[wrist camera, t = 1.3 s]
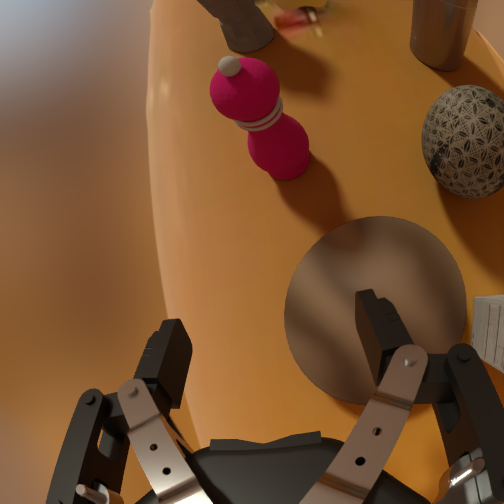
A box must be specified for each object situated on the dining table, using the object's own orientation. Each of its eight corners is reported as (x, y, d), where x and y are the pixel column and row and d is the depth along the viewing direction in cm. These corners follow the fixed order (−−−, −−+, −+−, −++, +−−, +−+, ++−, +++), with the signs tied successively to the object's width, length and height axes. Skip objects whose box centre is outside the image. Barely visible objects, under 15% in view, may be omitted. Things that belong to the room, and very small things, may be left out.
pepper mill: (318, 178, 35) (278, 77, 16) (264, 189, 37) (182, 108, 18) (308, 130, 36) (264, 20, 17) (258, 142, 38) (184, 49, 19)
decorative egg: (445, 227, 29) (499, 190, 15) (395, 149, 32) (412, 76, 18) (501, 187, 26) (557, 141, 12) (454, 117, 29) (484, 49, 15)
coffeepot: (290, 42, 38) (256, -38, 22) (243, 67, 41) (193, -8, 24) (253, 10, 42) (218, -52, 25) (213, 31, 44) (169, -27, 28)
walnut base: (388, 193, 32) (393, 179, 27) (476, 321, 26) (493, 326, 21) (262, 292, 36) (248, 294, 31) (349, 416, 30) (348, 435, 25)
